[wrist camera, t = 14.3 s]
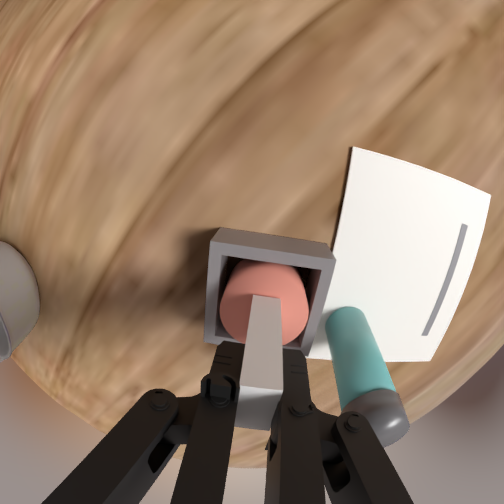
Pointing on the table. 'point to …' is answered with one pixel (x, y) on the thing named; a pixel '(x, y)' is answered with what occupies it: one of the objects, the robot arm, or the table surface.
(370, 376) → the marker
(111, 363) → the table surface
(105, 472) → the robot arm
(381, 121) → the table surface
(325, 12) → the table surface
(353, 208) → the paper
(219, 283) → the button housing
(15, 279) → the teacup
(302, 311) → the button
